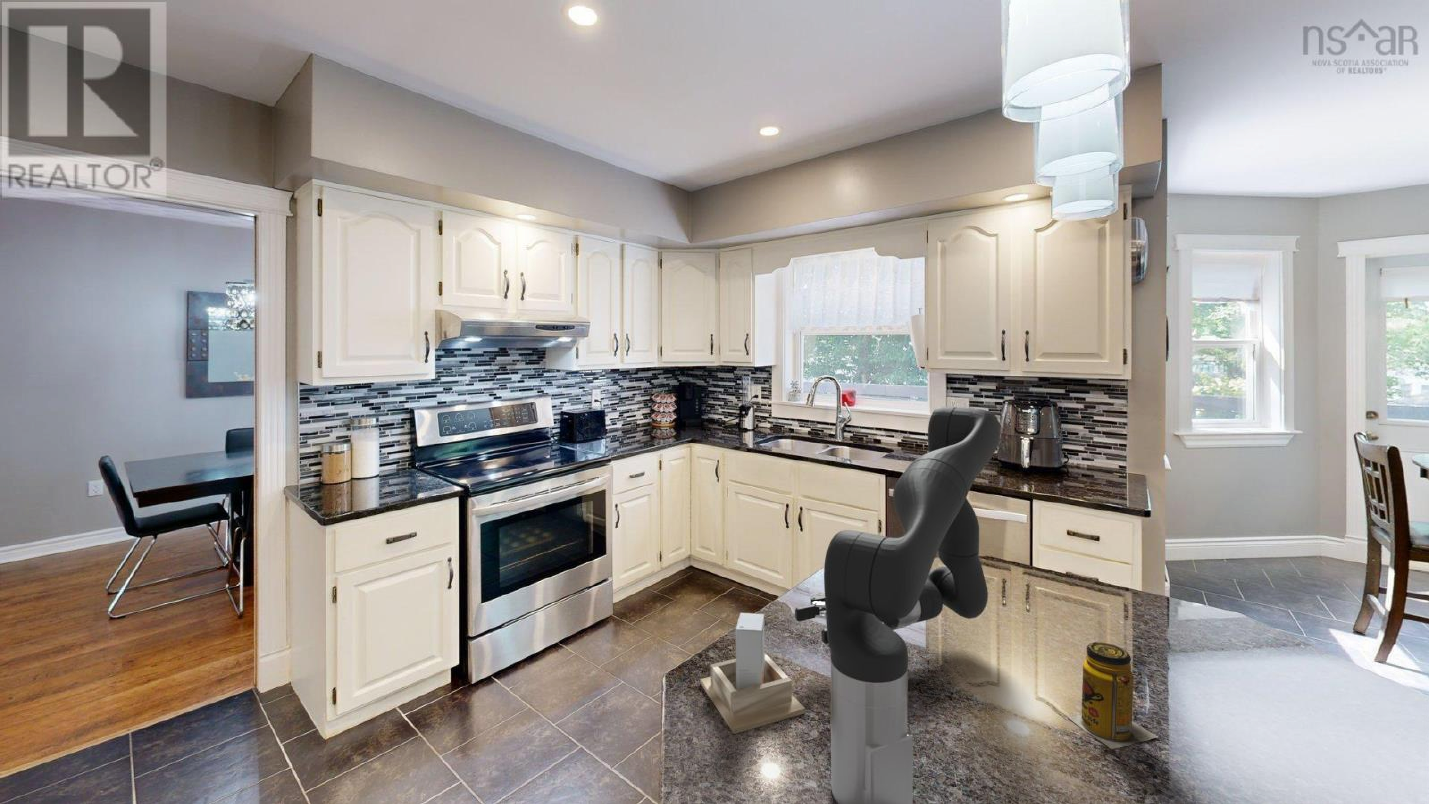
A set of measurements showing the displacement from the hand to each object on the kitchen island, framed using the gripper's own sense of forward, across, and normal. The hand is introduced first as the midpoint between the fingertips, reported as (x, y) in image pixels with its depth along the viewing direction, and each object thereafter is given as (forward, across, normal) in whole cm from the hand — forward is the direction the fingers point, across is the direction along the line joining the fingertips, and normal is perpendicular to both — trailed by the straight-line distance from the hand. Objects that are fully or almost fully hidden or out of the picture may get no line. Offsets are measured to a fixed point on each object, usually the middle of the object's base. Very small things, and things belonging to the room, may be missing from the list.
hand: (808, 625), depth 95 cm
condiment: (-34, +28, +10) cm, 45 cm away
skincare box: (+11, 0, +9) cm, 14 cm away
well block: (+11, 0, +10) cm, 15 cm away
